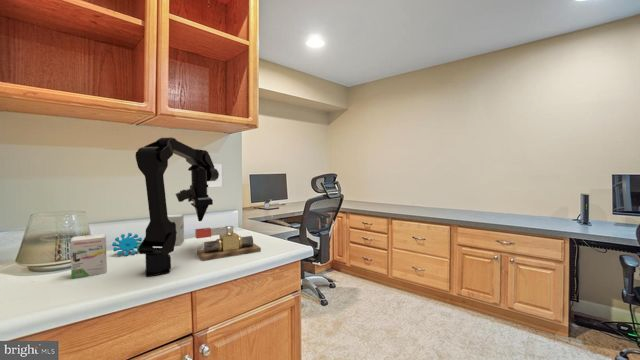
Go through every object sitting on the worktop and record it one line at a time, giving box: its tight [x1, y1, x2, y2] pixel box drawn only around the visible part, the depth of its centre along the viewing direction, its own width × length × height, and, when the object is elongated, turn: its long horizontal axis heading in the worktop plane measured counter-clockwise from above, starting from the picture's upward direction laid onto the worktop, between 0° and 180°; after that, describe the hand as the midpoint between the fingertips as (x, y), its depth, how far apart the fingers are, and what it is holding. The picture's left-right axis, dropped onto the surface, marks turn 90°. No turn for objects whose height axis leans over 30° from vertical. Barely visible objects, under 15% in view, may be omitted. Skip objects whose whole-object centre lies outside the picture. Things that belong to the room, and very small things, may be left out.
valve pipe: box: [203, 232, 254, 253], centre depth 112 cm, size 18×6×6 cm, turn 122°
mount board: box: [196, 242, 262, 262], centre depth 112 cm, size 22×10×2 cm, turn 122°
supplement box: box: [167, 213, 185, 247], centre depth 126 cm, size 7×7×13 cm
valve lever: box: [194, 225, 234, 239], centre depth 109 cm, size 14×3×3 cm, turn 124°
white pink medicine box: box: [70, 233, 108, 279], centre depth 90 cm, size 8×5×12 cm, turn 125°
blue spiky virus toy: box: [111, 232, 143, 257], centre depth 113 cm, size 11×6×10 cm
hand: (200, 221), depth 115 cm, fingers closed
